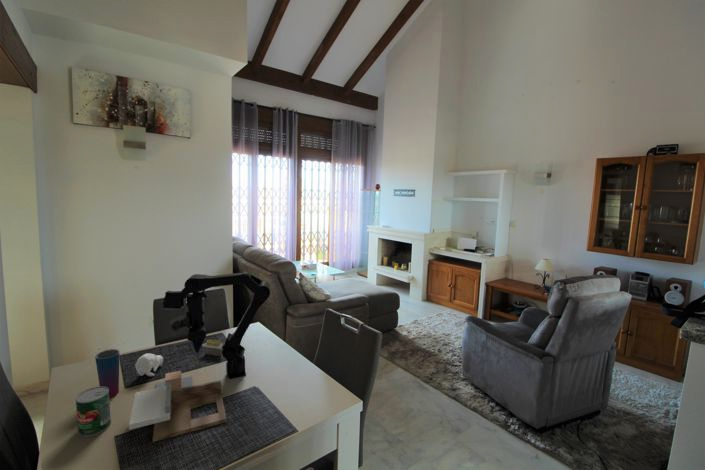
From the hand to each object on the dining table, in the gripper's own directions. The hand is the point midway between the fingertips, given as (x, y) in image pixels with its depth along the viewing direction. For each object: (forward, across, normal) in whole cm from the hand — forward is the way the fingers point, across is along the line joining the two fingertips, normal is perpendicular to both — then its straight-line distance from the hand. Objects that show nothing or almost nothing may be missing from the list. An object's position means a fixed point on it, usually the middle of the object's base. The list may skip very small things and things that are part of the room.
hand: (196, 347), depth 129 cm
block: (+12, +6, -8) cm, 15 cm away
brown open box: (+12, +24, -3) cm, 27 cm away
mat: (+12, +6, -8) cm, 16 cm away
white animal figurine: (+12, -11, -16) cm, 23 cm away
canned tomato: (+12, +18, -29) cm, 36 cm away
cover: (+6, +24, -13) cm, 28 cm away
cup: (+12, 0, -28) cm, 31 cm away
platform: (+13, -16, +8) cm, 22 cm away
